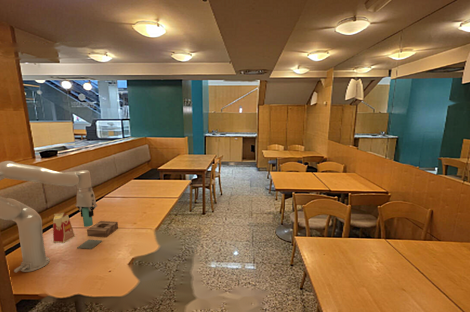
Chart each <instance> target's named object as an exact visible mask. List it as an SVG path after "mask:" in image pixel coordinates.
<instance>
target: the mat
mask: <svg viewBox="0 0 470 312" xmlns="http://www.w3.org/2000/svg"><path fill="white" fill-rule="evenodd" d="M100 243H103V240H102V239H87V240H86V241H84V242H83V243H81V244H80V245H79V246H77V247H76V248H77V249H80V250H81V249H82V250H93V249H94V248H95V247H96V246H98V245H99V244H100Z"/></svg>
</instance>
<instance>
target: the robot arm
mask: <svg viewBox="0 0 470 312" xmlns="http://www.w3.org/2000/svg"><path fill="white" fill-rule="evenodd" d="M4 179H9V180H15V181H16V180H17V181H23V182H32V183H33V182H34V183H41V184H45V185H52V186H53V185H54V186H59V187H60V186H61V187H72V188H73V187H75V186H76V189H77V190H76V203H75V205H74V206H75V207H76V208H77V209H78V210H79V212H80V217H81V218H83V214H82V208H83V207H88V208H89V217H92V218H93V217H94V215H95V214H94V210H95V209H96V208H97V207H98V204H97V202H96V195H95V192H94V191H93V190H94V189H93V188H94V187H92V179H91V172H90V170H87V169H82V170H77V171H65V172H61V171H55V170H52V169H49V168H46V167H44V166H43V167H42V166H39V165H38V166H36V165H30V164H23V163H17V162H16V161H12V160H5V161H1V162H0V181H2V180H4ZM0 219H1V220H5V221H13V222H15V223H16V226H17V228H18V238H19V243H20V251H21V256H22V261H21V262H20V265H19V266H17V267H16V268H14V269H13V272H14V273H18V272H19V271H20V272H22V273H29V272H34V271H37V270H40V269H41V268H44V267H45V266H47V265H48V264H49V263H50V261H51V259H50V257H49V256H46V247H45V240H44V235H43V220H42V216H41V215H40V213H38V212H37V210H35V209H34V208H32V207H30V206H28V205H26V204H25V203H23V202H20V201H19V200H17V199H14V198H11V197H8V198H7V197H4V196H1V195H0Z"/></svg>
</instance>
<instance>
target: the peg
mask: <svg viewBox="0 0 470 312" xmlns="http://www.w3.org/2000/svg"><path fill="white" fill-rule="evenodd" d="M82 214H83V217H82V221H83V222H82V223H83V227H84V228H90V227H92V226H93V225H94V223H93V221H94V220H93V216H92V217H89V208H88V207H83V208H82Z"/></svg>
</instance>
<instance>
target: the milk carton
mask: <svg viewBox="0 0 470 312" xmlns="http://www.w3.org/2000/svg"><path fill="white" fill-rule="evenodd" d="M53 215H54V217H53V222H52V223H53V224H52V238H53V241H52V242H53V243H61V244H65V243H66V242H68V241H70V240H72V239H73V238H75V237H76V235H75V231H74V229H73V228H74V227H73V225H72V223H71V220H70V217H69V214H67V213H65V212H59V213H54V214H53Z"/></svg>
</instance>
